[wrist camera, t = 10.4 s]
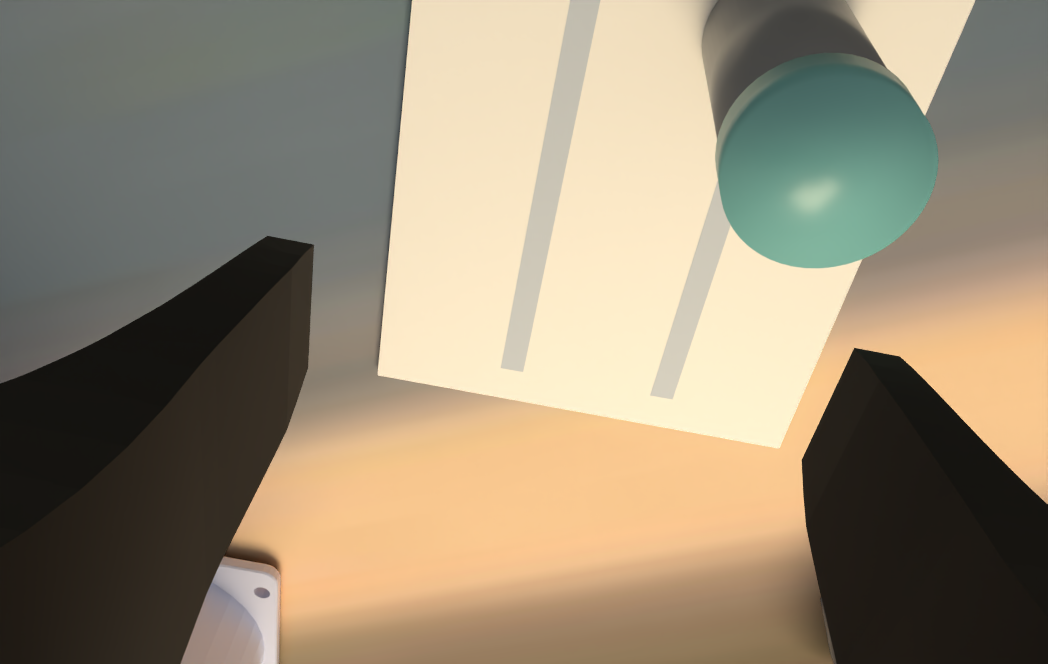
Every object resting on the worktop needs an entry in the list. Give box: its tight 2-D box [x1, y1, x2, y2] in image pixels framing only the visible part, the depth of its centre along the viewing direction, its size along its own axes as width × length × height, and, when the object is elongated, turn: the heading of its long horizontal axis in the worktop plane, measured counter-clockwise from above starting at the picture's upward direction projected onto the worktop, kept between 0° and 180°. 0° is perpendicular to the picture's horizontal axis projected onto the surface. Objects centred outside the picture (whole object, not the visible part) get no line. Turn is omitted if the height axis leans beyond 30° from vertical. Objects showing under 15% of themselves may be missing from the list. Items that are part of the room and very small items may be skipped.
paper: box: [378, 0, 975, 448], centre depth 22 cm, size 13×11×1 cm
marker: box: [702, 0, 938, 268], centre depth 17 cm, size 3×3×6 cm
